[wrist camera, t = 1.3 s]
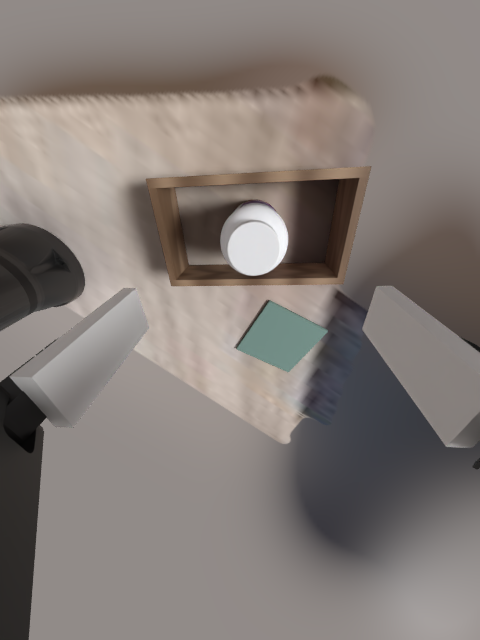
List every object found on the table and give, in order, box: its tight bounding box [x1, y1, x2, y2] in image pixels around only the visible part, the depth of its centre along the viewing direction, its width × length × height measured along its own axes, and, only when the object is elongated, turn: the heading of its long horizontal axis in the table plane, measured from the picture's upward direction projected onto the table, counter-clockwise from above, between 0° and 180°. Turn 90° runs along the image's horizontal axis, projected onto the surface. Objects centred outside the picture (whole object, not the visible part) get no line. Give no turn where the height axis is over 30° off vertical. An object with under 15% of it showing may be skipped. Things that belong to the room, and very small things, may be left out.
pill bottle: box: [220, 200, 288, 276], centre depth 28 cm, size 8×8×14 cm
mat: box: [237, 300, 328, 372], centre depth 46 cm, size 14×14×1 cm
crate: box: [146, 166, 371, 286], centre depth 31 cm, size 26×14×7 cm, turn 92°
